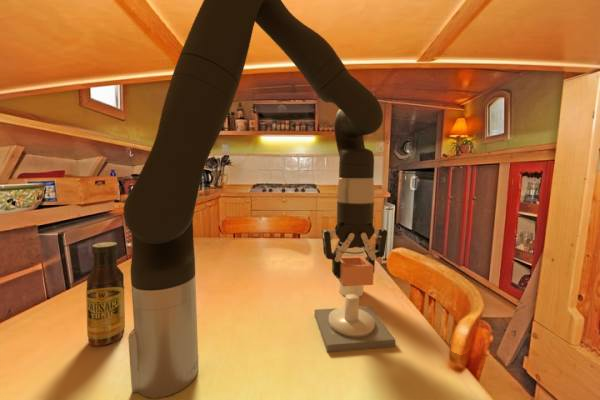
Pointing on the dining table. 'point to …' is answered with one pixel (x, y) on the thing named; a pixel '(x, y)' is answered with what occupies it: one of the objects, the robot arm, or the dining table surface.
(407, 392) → the dining table surface
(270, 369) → the dining table surface
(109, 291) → the sauce bottle
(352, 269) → the collar
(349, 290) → the cylindrical container
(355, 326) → the post plate
